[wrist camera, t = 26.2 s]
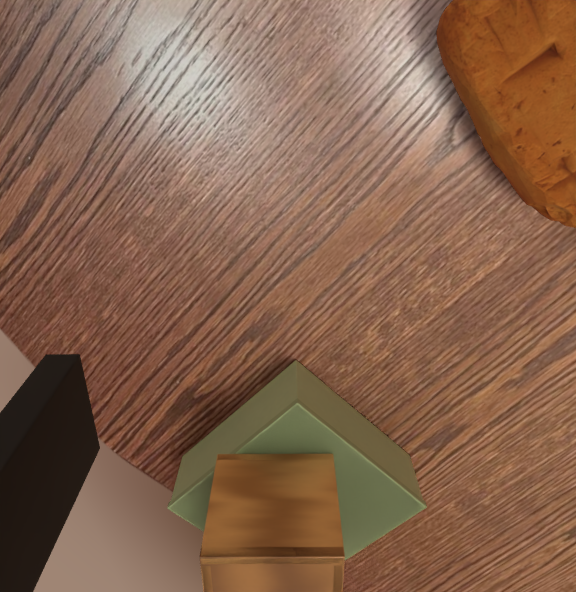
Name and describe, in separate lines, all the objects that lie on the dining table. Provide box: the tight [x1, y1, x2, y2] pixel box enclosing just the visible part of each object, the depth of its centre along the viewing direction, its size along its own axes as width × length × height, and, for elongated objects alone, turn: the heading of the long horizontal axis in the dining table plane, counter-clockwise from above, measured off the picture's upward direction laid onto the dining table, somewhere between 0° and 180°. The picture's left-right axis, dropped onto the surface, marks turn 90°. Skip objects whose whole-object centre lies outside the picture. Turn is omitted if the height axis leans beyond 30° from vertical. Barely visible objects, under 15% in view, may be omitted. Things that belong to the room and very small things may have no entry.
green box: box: [168, 360, 427, 560], centre depth 45 cm, size 15×15×6 cm
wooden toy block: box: [200, 454, 345, 592], centre depth 38 cm, size 9×9×9 cm
